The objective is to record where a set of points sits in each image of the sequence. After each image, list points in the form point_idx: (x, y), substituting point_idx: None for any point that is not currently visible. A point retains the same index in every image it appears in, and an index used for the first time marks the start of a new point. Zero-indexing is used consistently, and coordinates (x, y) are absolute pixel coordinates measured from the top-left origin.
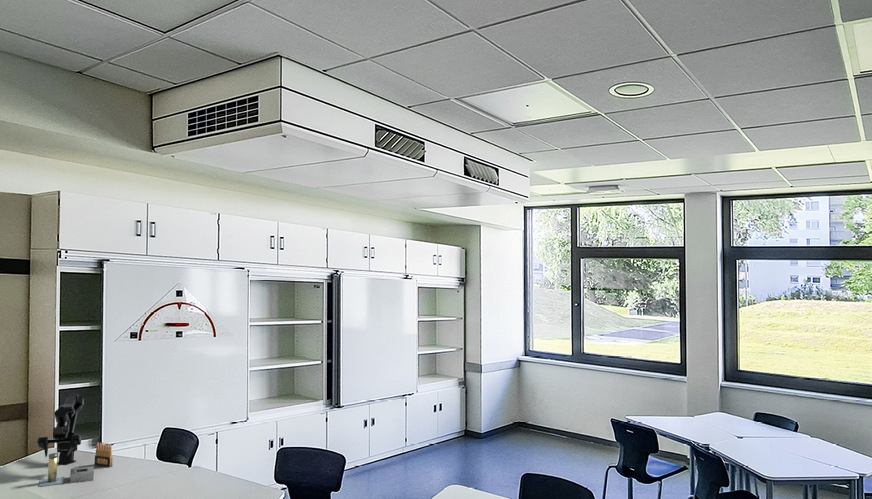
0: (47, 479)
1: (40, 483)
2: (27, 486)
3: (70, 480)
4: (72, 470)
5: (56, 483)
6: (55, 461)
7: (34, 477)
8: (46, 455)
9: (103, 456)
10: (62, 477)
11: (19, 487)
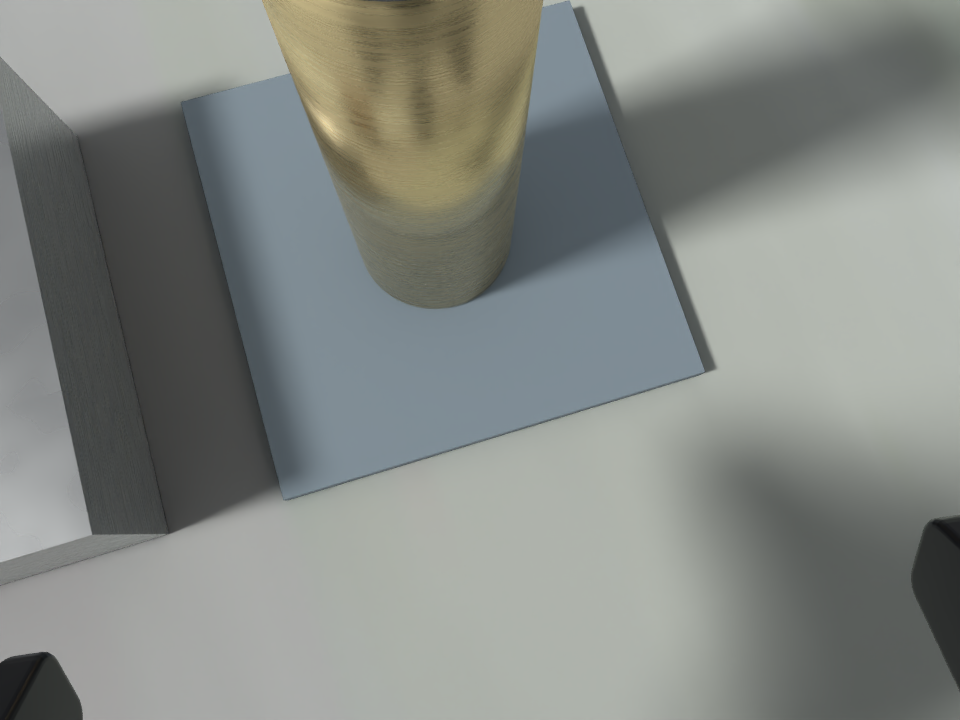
0: (572, 373)
1: (604, 138)
2: (783, 69)
3: (46, 117)
4: (11, 376)
5: None
6: None
7: (926, 627)
8: (955, 557)
9: None
10: (308, 466)
11: (896, 37)
